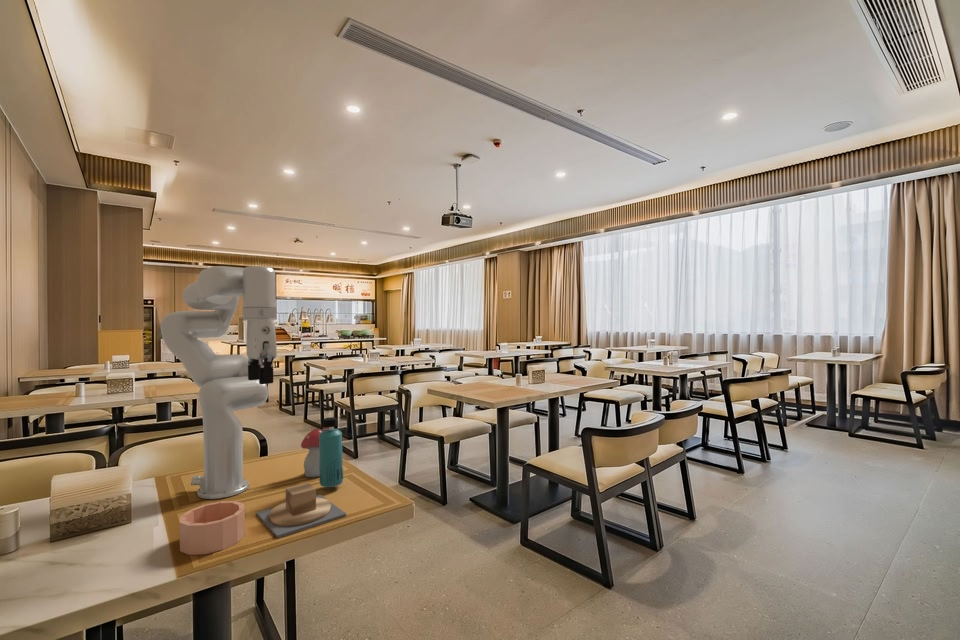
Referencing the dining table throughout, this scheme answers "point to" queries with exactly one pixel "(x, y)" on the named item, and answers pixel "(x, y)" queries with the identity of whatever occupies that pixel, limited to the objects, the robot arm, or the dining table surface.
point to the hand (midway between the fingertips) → (260, 381)
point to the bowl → (212, 527)
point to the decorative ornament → (312, 453)
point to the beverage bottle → (330, 454)
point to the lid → (300, 507)
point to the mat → (286, 530)
